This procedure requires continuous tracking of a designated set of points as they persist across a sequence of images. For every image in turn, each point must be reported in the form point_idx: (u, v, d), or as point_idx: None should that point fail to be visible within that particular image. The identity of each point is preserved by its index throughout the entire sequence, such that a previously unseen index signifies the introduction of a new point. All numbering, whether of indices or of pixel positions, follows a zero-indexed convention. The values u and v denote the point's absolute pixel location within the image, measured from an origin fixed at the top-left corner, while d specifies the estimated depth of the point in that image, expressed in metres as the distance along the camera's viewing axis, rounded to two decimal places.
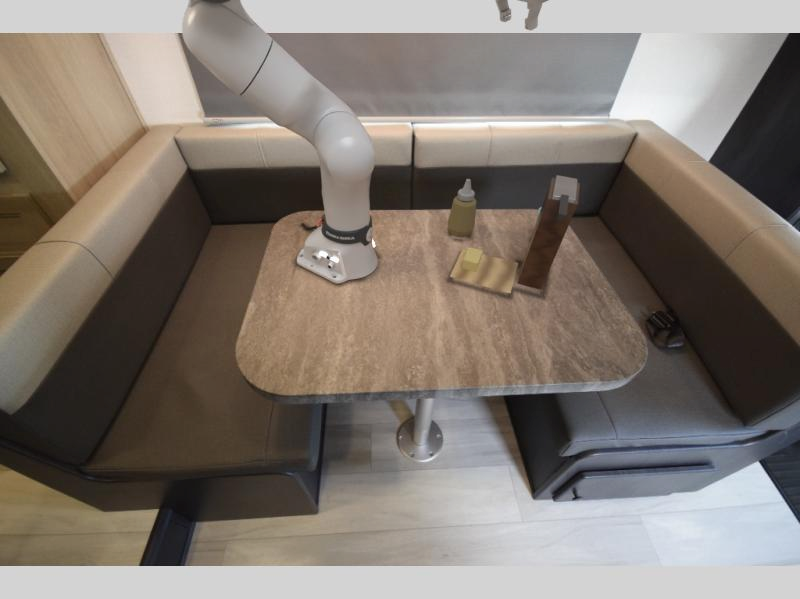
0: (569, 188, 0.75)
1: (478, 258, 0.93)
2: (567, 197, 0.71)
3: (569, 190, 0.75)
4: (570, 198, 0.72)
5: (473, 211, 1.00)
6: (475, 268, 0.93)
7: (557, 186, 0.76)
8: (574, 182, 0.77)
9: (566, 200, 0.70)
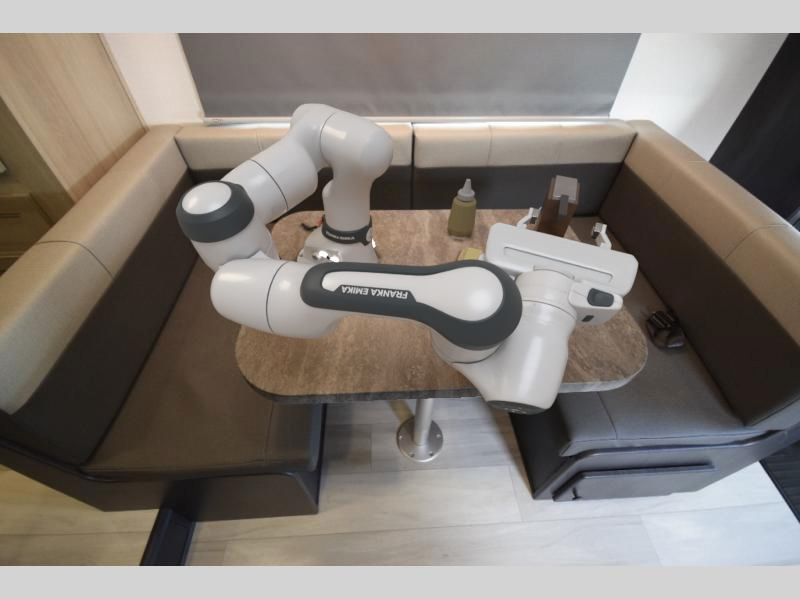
0: (569, 188, 0.75)
1: None
2: (567, 197, 0.71)
3: (569, 190, 0.75)
4: (570, 198, 0.72)
5: (473, 211, 1.00)
6: None
7: (557, 186, 0.76)
8: (574, 182, 0.77)
9: (566, 200, 0.70)
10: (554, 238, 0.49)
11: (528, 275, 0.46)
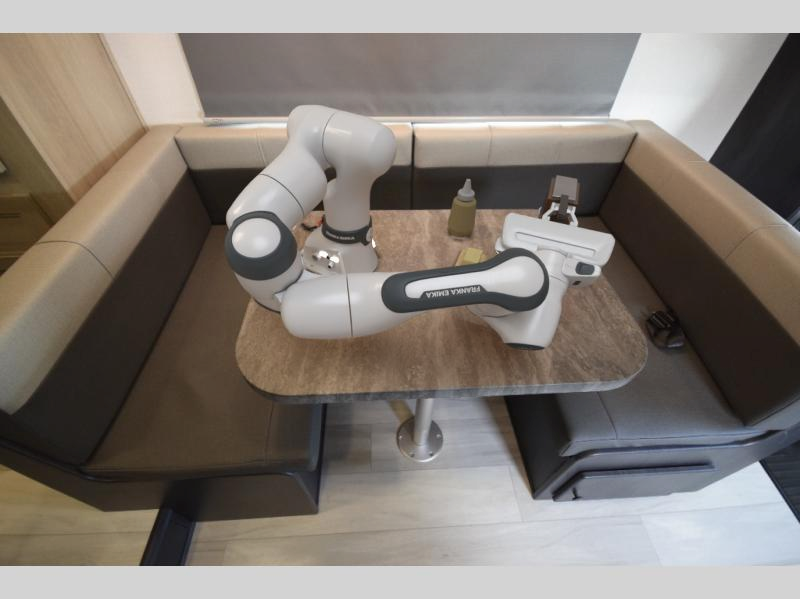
0: (569, 188, 0.75)
1: (478, 258, 0.93)
2: (567, 197, 0.71)
3: (569, 190, 0.75)
4: (570, 198, 0.72)
5: (473, 211, 1.00)
6: None
7: (557, 186, 0.76)
8: (574, 182, 0.77)
9: (566, 200, 0.70)
10: (553, 224, 0.67)
11: (533, 254, 0.64)
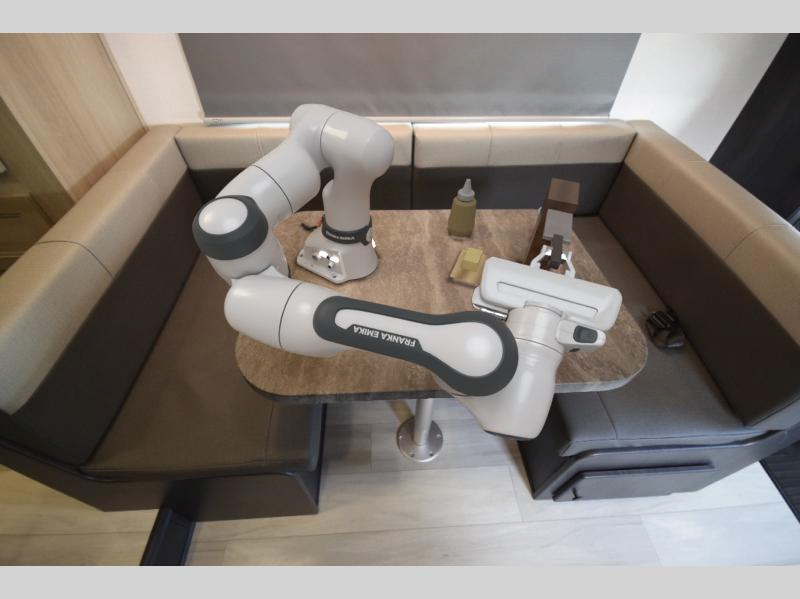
0: (563, 226, 0.62)
1: (478, 258, 0.93)
2: (561, 238, 0.58)
3: (564, 228, 0.61)
4: (565, 239, 0.59)
5: (473, 211, 1.00)
6: (475, 268, 0.93)
7: (549, 222, 0.62)
8: (569, 218, 0.64)
9: (560, 242, 0.57)
10: (545, 273, 0.53)
11: (519, 312, 0.50)
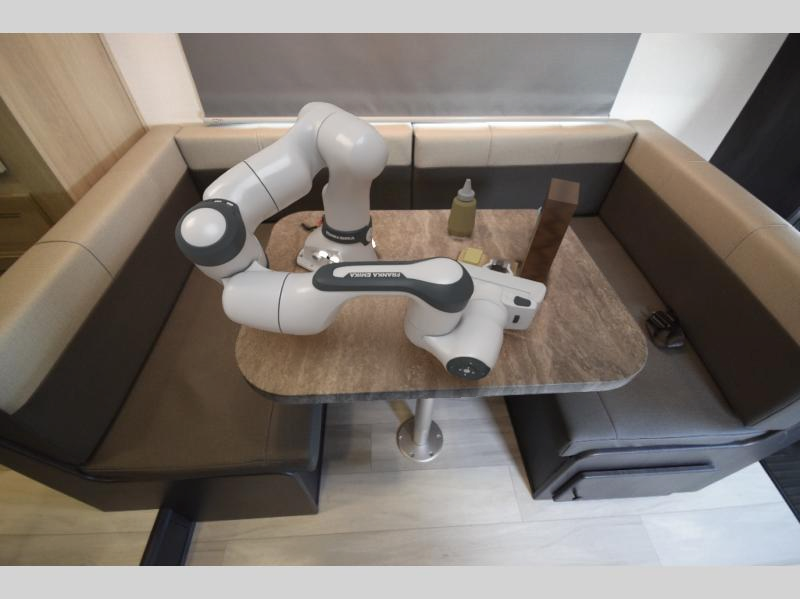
0: (504, 261, 0.85)
1: (478, 258, 0.93)
2: (502, 261, 0.80)
3: (504, 262, 0.84)
4: None
5: (473, 211, 1.00)
6: None
7: (494, 259, 0.86)
8: (508, 260, 0.88)
9: (502, 261, 0.79)
10: (492, 271, 0.72)
11: (474, 287, 0.67)
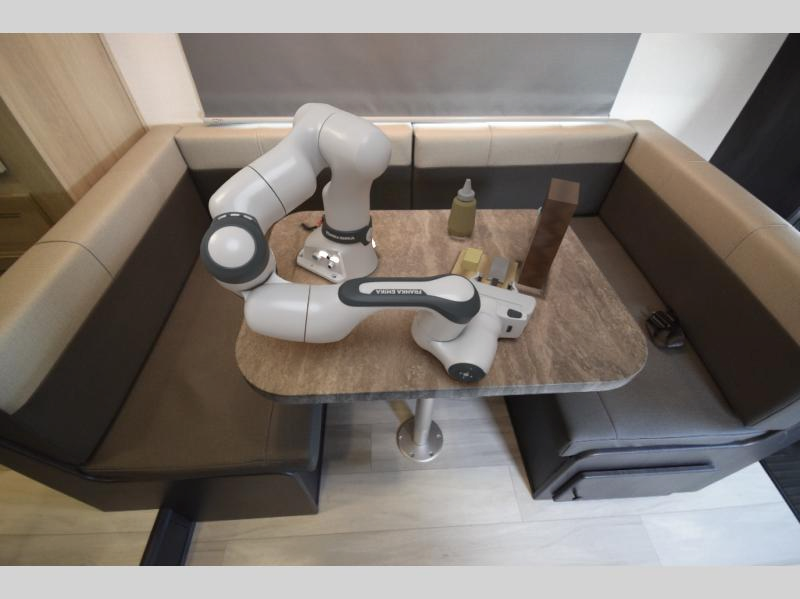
0: (501, 270, 0.93)
1: (478, 258, 0.93)
2: (497, 281, 0.89)
3: (501, 272, 0.93)
4: (500, 280, 0.91)
5: (473, 211, 1.00)
6: (475, 268, 0.93)
7: (492, 267, 0.94)
8: (507, 263, 0.95)
9: (495, 284, 0.89)
10: (488, 285, 0.82)
11: None
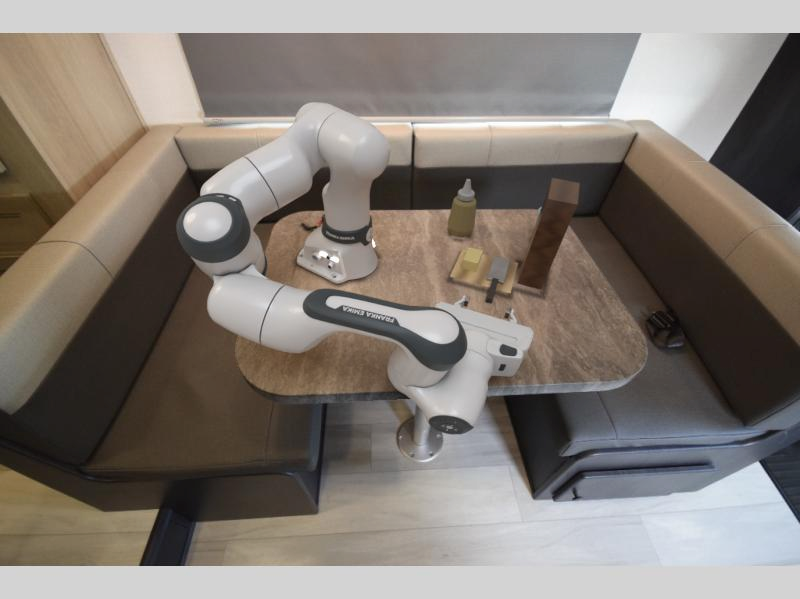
0: (501, 270, 0.93)
1: (478, 258, 0.93)
2: (497, 281, 0.89)
3: (501, 272, 0.93)
4: (500, 280, 0.91)
5: (473, 211, 1.00)
6: (475, 268, 0.93)
7: (492, 267, 0.94)
8: (507, 263, 0.95)
9: (495, 284, 0.89)
10: (479, 314, 0.71)
11: None
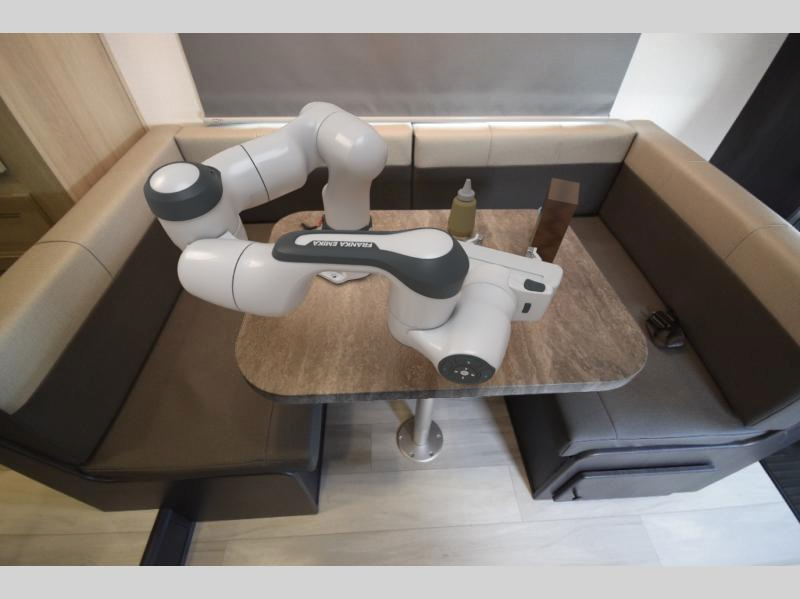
0: None
1: None
2: None
3: None
4: None
5: (473, 211, 1.00)
6: None
7: None
8: None
9: None
10: (496, 251, 0.59)
11: (475, 268, 0.54)
